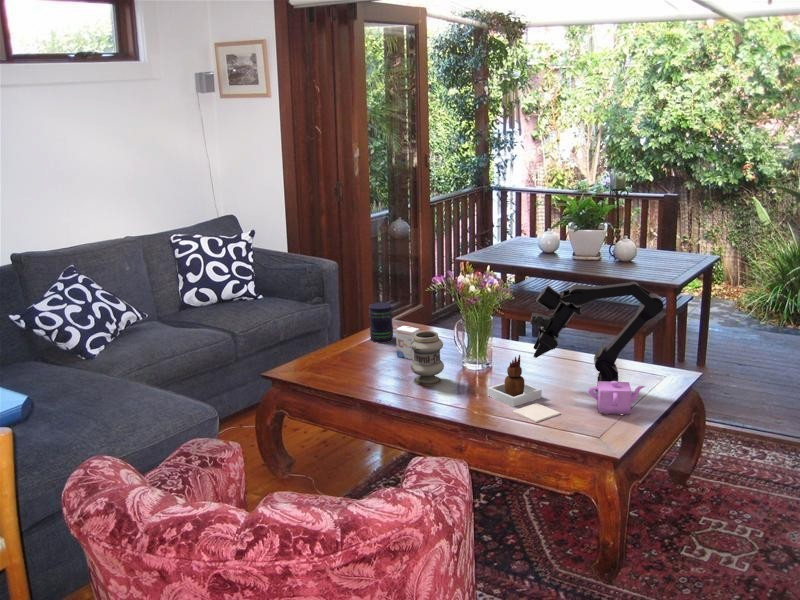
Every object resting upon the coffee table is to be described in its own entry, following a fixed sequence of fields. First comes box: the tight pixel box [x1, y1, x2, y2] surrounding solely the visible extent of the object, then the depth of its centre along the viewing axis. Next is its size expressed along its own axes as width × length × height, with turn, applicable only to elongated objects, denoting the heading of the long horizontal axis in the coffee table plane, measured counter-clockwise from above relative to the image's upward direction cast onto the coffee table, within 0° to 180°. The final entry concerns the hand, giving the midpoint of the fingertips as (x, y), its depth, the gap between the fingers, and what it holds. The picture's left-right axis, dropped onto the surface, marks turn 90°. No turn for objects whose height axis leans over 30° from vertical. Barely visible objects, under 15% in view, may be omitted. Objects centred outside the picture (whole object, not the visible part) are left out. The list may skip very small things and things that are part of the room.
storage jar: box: [368, 301, 394, 344], centre depth 362 cm, size 10×10×15 cm
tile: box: [512, 402, 561, 423], centre depth 281 cm, size 11×11×1 cm
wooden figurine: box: [503, 354, 525, 397], centre depth 293 cm, size 7×6×15 cm
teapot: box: [587, 380, 646, 415], centre depth 279 cm, size 18×14×10 cm
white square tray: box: [487, 382, 543, 408], centre depth 295 cm, size 13×13×3 cm
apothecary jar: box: [410, 330, 445, 387], centre depth 310 cm, size 12×12×18 cm
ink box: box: [395, 325, 421, 360], centre depth 339 cm, size 9×5×12 cm, turn 55°
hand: (534, 352), depth 298 cm, fingers open, 9 cm apart
